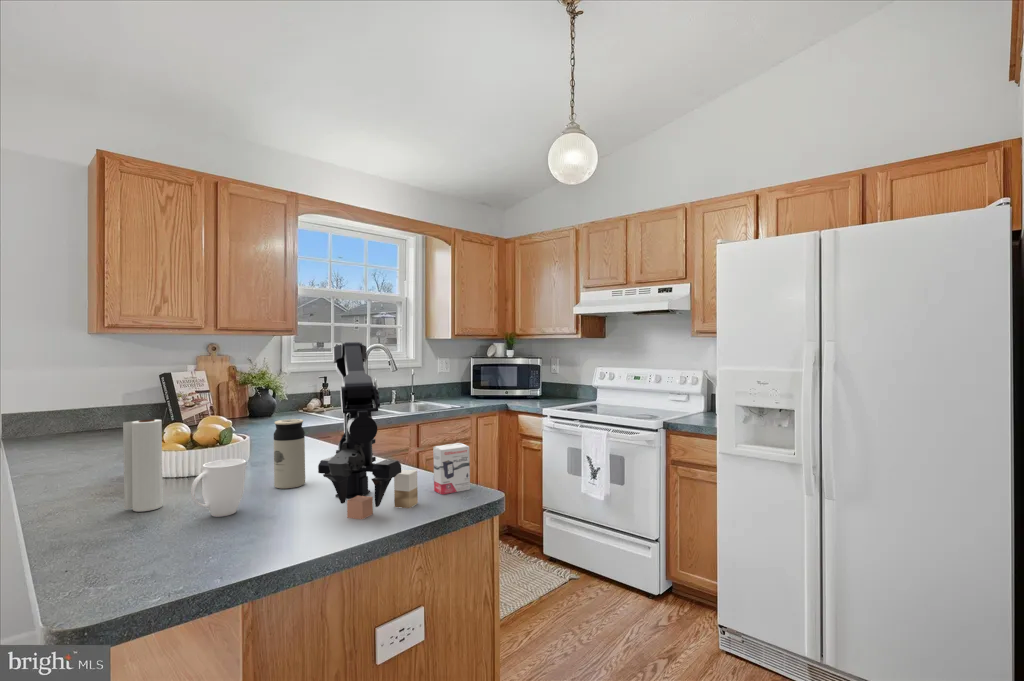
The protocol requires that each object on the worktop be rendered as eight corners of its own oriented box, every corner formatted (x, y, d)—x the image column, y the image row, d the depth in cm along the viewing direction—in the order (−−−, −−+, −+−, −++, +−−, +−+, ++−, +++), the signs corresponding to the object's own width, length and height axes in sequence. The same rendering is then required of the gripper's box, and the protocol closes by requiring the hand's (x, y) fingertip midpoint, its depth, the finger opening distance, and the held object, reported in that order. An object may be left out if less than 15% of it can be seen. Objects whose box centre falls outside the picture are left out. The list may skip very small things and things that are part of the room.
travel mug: (297, 480, 154) (296, 418, 155) (310, 485, 149) (309, 420, 149) (269, 485, 149) (268, 421, 149) (281, 491, 143) (280, 423, 143)
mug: (230, 505, 131) (230, 456, 131) (253, 511, 126) (253, 460, 126) (181, 519, 120) (181, 466, 120) (204, 526, 116) (205, 471, 116)
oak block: (394, 507, 127) (394, 490, 128) (403, 502, 131) (403, 485, 131) (409, 508, 126) (409, 491, 126) (417, 503, 130) (417, 487, 130)
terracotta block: (347, 518, 120) (347, 500, 120) (358, 512, 124) (357, 495, 124) (362, 519, 119) (362, 501, 119) (372, 514, 123) (372, 496, 123)
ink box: (441, 495, 137) (440, 449, 137) (433, 490, 141) (432, 446, 141) (470, 489, 142) (470, 445, 142) (462, 485, 146) (461, 442, 146)
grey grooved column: (168, 506, 131) (167, 419, 131) (142, 513, 125) (141, 422, 126) (150, 503, 134) (149, 417, 134) (124, 510, 128) (122, 421, 129)
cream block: (394, 490, 128) (394, 473, 128) (403, 485, 131) (402, 469, 131) (409, 491, 126) (408, 474, 126) (417, 487, 130) (417, 470, 130)
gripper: (300, 440, 117) (301, 512, 117) (373, 444, 111) (375, 519, 111) (333, 432, 127) (334, 497, 127) (402, 435, 121) (403, 504, 121)
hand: (360, 504), depth 121 cm, fingers open, 9 cm apart
